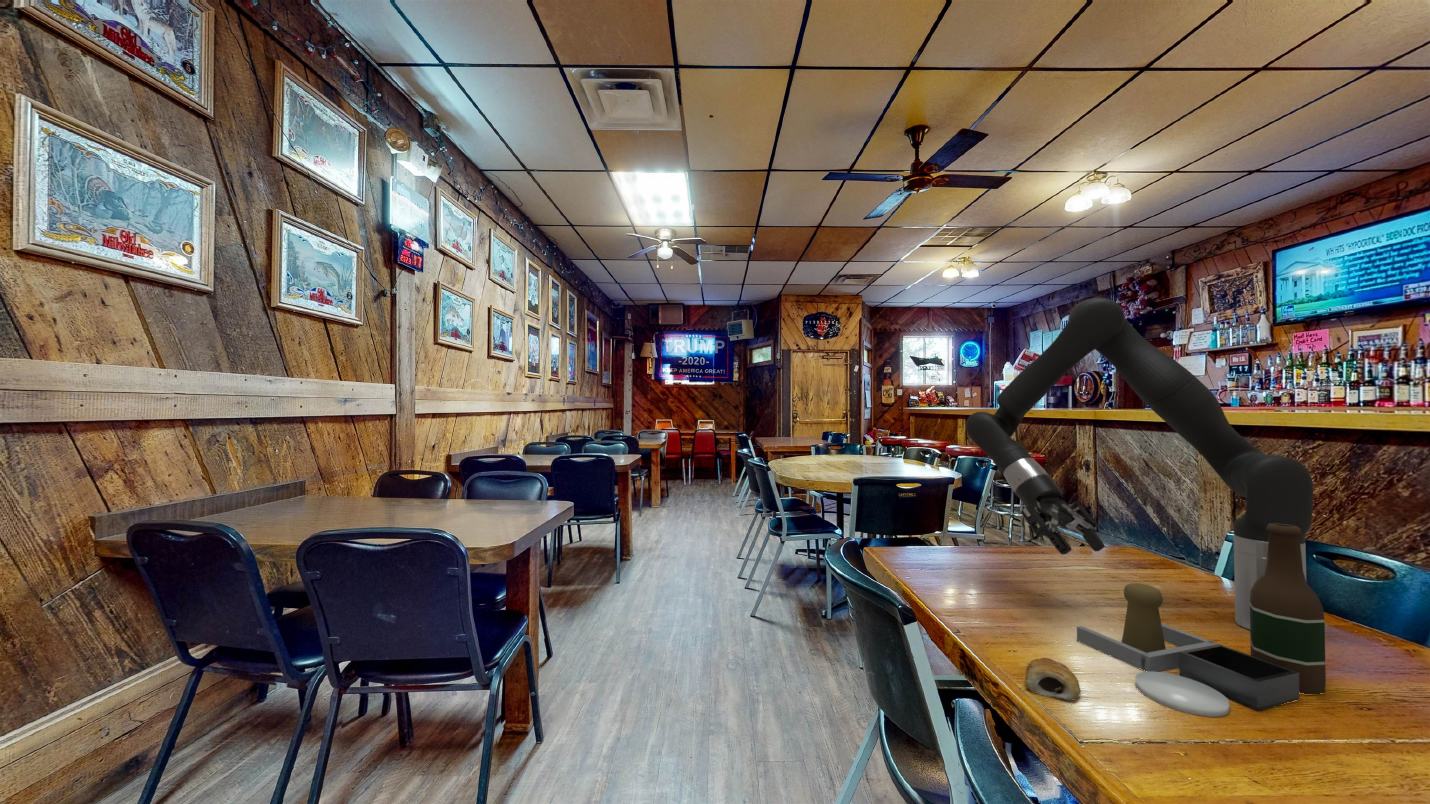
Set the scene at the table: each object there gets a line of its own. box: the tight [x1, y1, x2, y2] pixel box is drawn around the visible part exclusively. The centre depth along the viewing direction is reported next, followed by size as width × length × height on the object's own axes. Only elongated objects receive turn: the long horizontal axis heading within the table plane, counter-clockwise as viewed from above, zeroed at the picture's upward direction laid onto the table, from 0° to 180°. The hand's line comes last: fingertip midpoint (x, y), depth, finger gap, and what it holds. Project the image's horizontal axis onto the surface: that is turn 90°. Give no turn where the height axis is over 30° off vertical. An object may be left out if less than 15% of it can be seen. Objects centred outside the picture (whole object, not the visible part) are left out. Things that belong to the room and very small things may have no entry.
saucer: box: [1135, 671, 1230, 718], centre depth 73 cm, size 10×10×1 cm
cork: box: [1121, 582, 1167, 653], centre depth 88 cm, size 6×6×11 cm
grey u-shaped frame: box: [1076, 622, 1219, 672], centre depth 87 cm, size 16×12×2 cm
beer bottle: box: [1249, 523, 1327, 694], centre depth 77 cm, size 8×8×24 cm
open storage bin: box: [1178, 643, 1301, 712], centre depth 75 cm, size 9×9×4 cm
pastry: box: [1025, 657, 1082, 701], centre depth 76 cm, size 9×7×4 cm
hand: (1084, 550), depth 98 cm, fingers open, 8 cm apart
